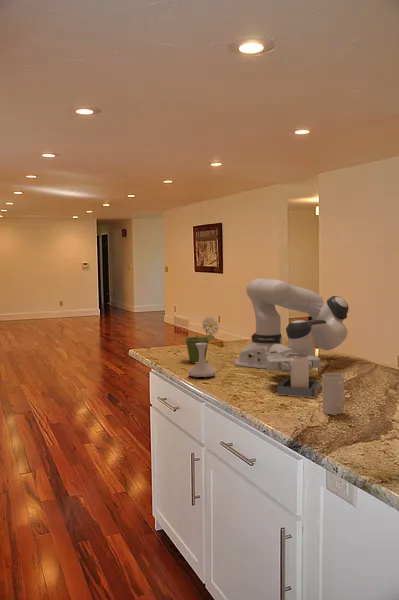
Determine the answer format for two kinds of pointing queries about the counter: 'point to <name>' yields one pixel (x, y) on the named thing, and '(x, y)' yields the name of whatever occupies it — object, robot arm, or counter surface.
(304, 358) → the can
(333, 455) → the counter surface
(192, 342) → the plant pot
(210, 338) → the flower in vase
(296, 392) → the socket block
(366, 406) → the counter surface
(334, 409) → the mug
